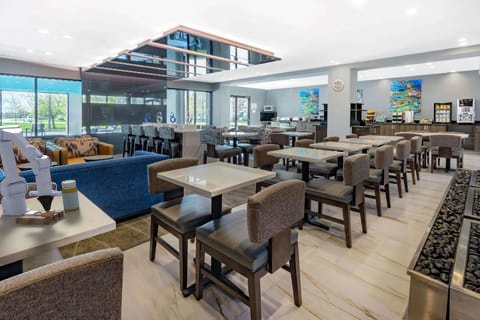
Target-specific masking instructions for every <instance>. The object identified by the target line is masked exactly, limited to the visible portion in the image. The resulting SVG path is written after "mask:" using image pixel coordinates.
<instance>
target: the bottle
mask: <svg viewBox="0 0 480 320" xmlns="http://www.w3.org/2000/svg"><path fill="white" fill-rule="evenodd" d="M61 188H62V189H61V191H62V196H61V198H62V205H63V210H64V211H65V212H74V211H77V210H79V208H80V200H79V191H78V188H77V183H76V180H75V179H68V180H63V181H62V182H61Z"/></svg>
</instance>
